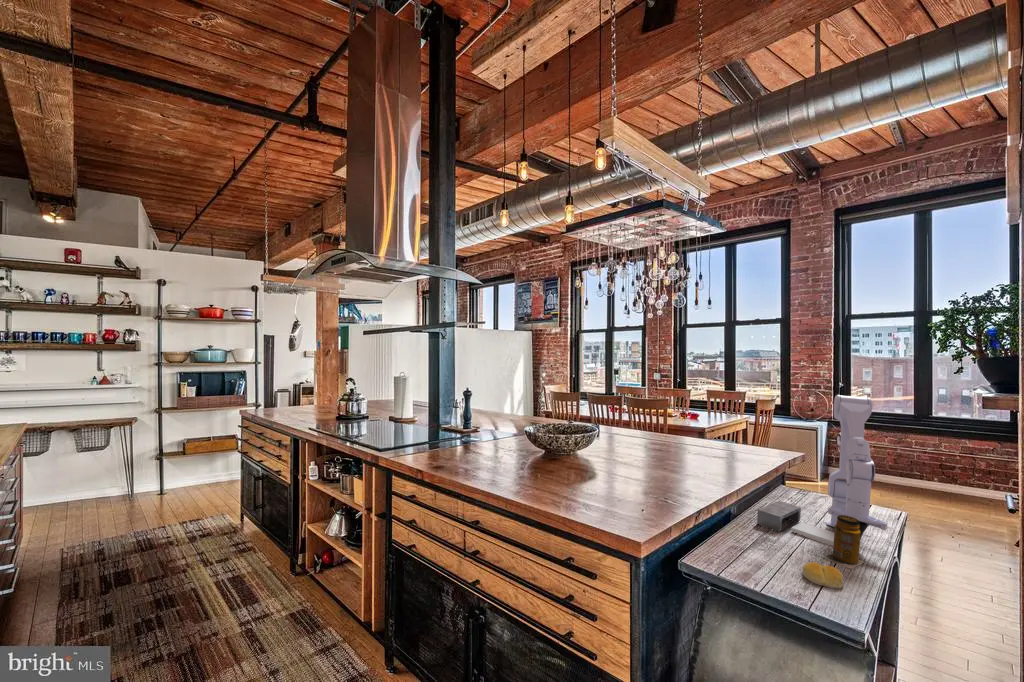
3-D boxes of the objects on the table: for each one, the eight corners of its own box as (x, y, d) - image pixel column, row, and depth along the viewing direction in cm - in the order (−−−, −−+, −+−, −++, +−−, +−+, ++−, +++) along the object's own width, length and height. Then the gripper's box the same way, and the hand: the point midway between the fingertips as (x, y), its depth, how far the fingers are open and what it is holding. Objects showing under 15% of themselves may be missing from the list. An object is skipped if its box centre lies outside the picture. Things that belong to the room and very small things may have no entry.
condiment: (864, 562, 136) (867, 520, 135) (851, 569, 131) (854, 526, 130) (835, 551, 142) (838, 511, 141) (822, 558, 137) (825, 516, 137)
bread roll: (802, 569, 130) (803, 554, 130) (842, 579, 125) (843, 564, 125) (801, 581, 123) (802, 566, 123) (843, 593, 118) (845, 577, 118)
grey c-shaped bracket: (778, 514, 169) (779, 500, 169) (799, 521, 163) (800, 507, 163) (756, 524, 159) (757, 509, 159) (779, 532, 154) (780, 516, 153)
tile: (800, 528, 159) (801, 522, 159) (846, 543, 149) (847, 536, 149) (791, 533, 154) (791, 527, 154) (837, 549, 144) (838, 543, 144)
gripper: (825, 495, 147) (822, 538, 147) (883, 510, 136) (880, 558, 136) (834, 491, 151) (831, 533, 152) (890, 506, 140) (887, 552, 140)
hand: (854, 545), depth 144 cm, fingers closed
